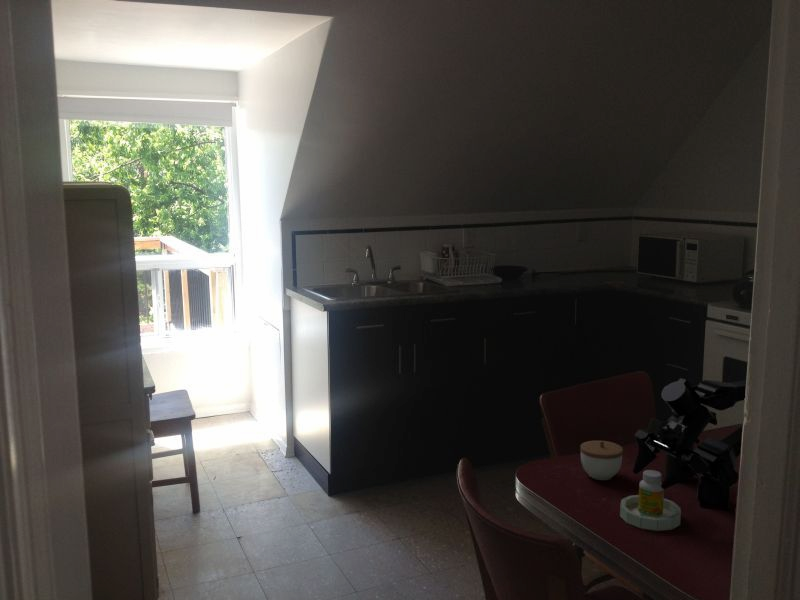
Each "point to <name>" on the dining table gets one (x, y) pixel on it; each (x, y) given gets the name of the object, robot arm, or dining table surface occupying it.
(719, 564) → the dining table surface
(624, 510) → the bowl
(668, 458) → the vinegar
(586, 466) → the lidded jar
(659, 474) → the supplement bottle
